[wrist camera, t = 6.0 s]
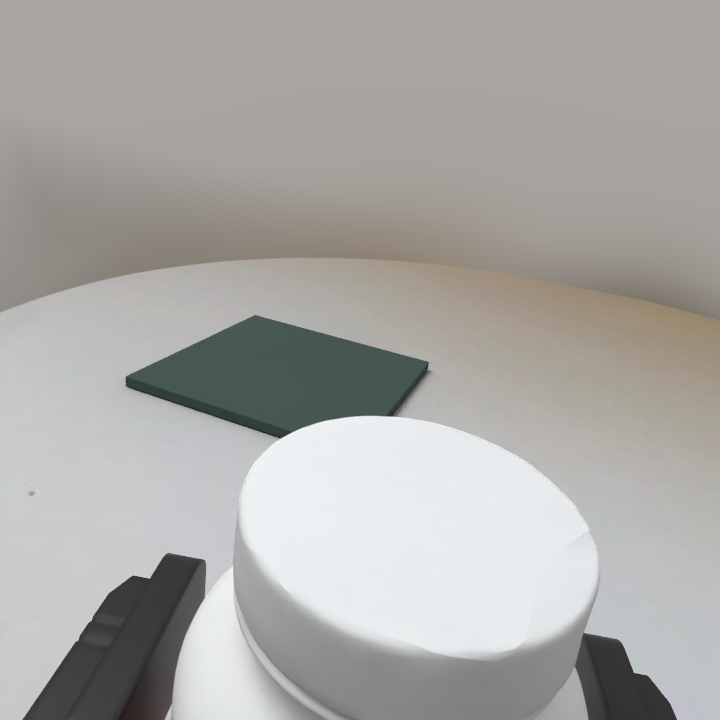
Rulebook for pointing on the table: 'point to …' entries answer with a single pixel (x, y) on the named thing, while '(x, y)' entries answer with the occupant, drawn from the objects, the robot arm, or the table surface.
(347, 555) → the pill bottle
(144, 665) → the robot arm
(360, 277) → the table surface
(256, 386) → the mat
